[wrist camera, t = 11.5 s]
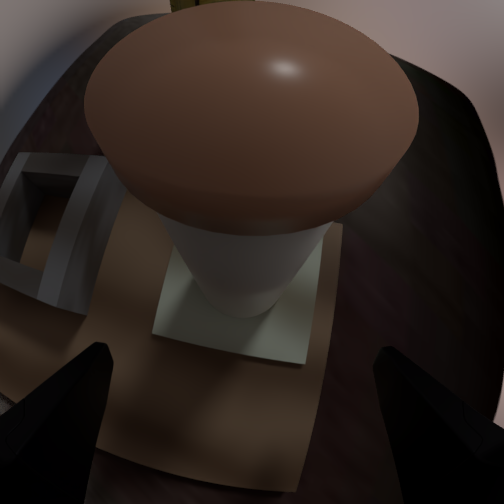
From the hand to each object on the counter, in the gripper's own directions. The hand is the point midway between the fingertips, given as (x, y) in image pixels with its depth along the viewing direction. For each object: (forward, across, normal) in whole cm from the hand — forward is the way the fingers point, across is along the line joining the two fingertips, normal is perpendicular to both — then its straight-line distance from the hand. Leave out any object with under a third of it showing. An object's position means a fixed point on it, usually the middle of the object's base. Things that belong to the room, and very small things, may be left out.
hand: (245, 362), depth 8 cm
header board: (+7, +7, +5) cm, 11 cm away
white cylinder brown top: (+8, 0, +1) cm, 8 cm away
